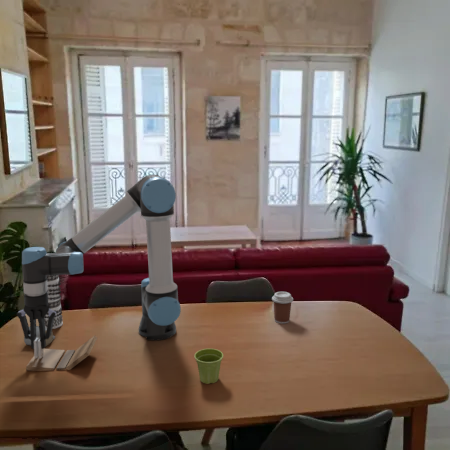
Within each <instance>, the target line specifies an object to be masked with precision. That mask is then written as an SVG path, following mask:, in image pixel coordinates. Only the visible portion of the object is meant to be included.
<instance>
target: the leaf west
mask: <svg viewBox="0 0 450 450" xmlns="http://www.w3.org/2000/svg"><path fill="white" fill-rule="evenodd" d="M97 339H98V337H97V336H96V335H95V334H94V335H93V336H92V337H90V339H88V340H87V341H85V342H84V343H83V344H82V345H80V346H79V347H77V348H76V349H75V352H74V354H73V356H72V358H71V360H70V361H69V363H68V365H67V367H66V370H67V371H70V370H72V369H73V368H75V366H77V365H78V364H79V363H81V362H82V361H84V360H85V359H86V358H87V357H89V356H90V354H91V352H92V350H93V347H94V346H95V344H96V342H97Z"/></svg>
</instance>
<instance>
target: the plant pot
mask: <svg viewBox="0 0 450 450" xmlns="http://www.w3.org/2000/svg"><path fill="white" fill-rule="evenodd" d="M193 357H194V359H195V362H196V364H197V368H198V369H197V370H198V374H199V375H198V376H199V380H200V382H201V383H203V384H206V385H207V384H208V385H209V384H215V383H217V382H218V381H219V377H220V371H221V363H222V359H224V354H223V352H222V351H221V350H219V349H217V348H216V349H215V348H204V349H199V350H197V351H196V352H195V353H194V356H193Z"/></svg>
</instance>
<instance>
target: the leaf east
mask: <svg viewBox="0 0 450 450" xmlns="http://www.w3.org/2000/svg"><path fill="white" fill-rule="evenodd" d="M43 350H44V355H43V357H42V358H41V359H39V356H38V358H37V359H35V357H34V356H33V357H31V359H30V360H29V362H28V363H27V365H26V366H25V367H26V368H25V370H26V371H32V372H33V371H35V372H40V371H41V372H42V371H43V372H44V371H45V372H49V371H54V370H55V369H56V368H57V366H58V365H59V363H60V361H61V359H62V358H63V356H64V354H65V353H66V351H65V349H54V348H44V349H43Z"/></svg>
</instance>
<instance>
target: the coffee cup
mask: <svg viewBox="0 0 450 450" xmlns="http://www.w3.org/2000/svg"><path fill="white" fill-rule="evenodd" d="M271 300H272V301H273V315H274V316H273V317H274V318H273V320H274V322H275V323H277V324H288V323H289V322H290V318H291V310H292V309H291V308H292V302H293V301H294V298H293V296H292V294H291V293H290V292H287V291H277V292H275V293H274V295H273V296H272V297H271Z"/></svg>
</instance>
